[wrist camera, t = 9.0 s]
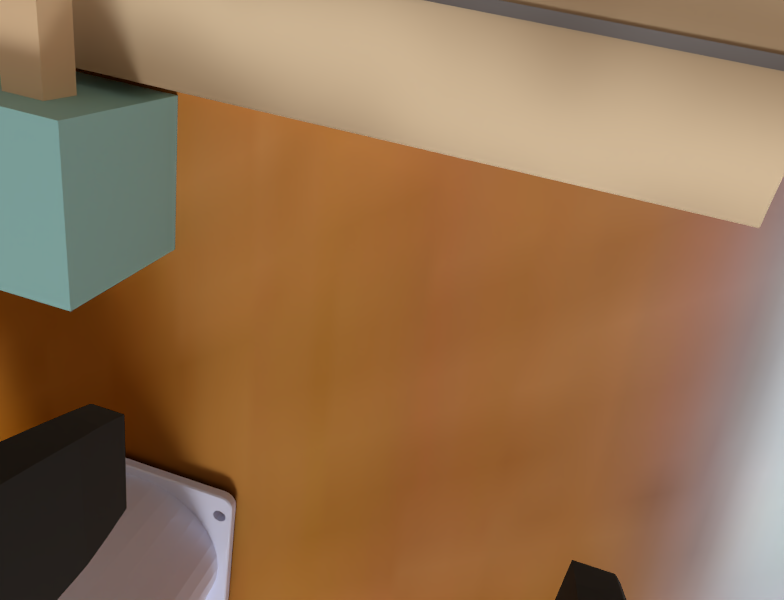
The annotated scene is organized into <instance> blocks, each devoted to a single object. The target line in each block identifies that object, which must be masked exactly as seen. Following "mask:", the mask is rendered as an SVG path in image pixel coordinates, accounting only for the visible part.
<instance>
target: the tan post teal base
mask: <svg viewBox="0 0 784 600" xmlns="http://www.w3.org/2000/svg"><path fill="white" fill-rule="evenodd" d="M177 109H178V95H174V94H169V93H165V92H161V91H157V90H153V89H148V88H144V87H140V86H136V85H131V84H127V83H123V82H119V81H115V80H110V79H106V78H102V77H98V76H93V75H89V74H85V73H81V72H77V71H76V70H75V50H74V31H73V12H72V0H0V290H2V291H5V292H8V293H11V294H15V295H18V296H21V297H25V298H28V299H31V300H34V301H38V302H41V303H44V304H48V305H51V306H54V307H57V308H61V309H64V310H67V311H72V310H74V309H76V308H77V307H79V306H81V305H82V304H84V303H86V302H87V301H89V300H91V299H92V298H94V297H96V296H97V295H99V294H101V293H102V292H104V291H106V290H107V289H109V288H111V287H112V286H114V285H116V284H117V283H119V282H121V281H123V280H124V279H126V278H128V277H129V276H131V275H133V274H134V273H136V272H138V271H139V270H141V269H143V268H144V267H146V266H148V265H149V264H151V263H153V262H154V261H156V260H158V259H159V258H161V257H163V256H164V255H166V254H168V253H169V252H171V251H173V250H174V249H175V217H176V163H177Z"/></svg>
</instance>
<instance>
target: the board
mask: <svg viewBox="0 0 784 600" xmlns="http://www.w3.org/2000/svg"><path fill="white" fill-rule="evenodd" d="M72 12H73V31H74V50H75V68H78V69H83V70H87V71H91V72H95V73H100V74H104V75H108V76H113V77H117V78H121V79H125V80H130V81H134V82H138V83H142V84H147V85H151V86H155V87H159V88H164V89H168V90H172V91H177V92H181V93H185V94H189V95H194V96H198V97H202V98H206V99H211V100H215V101H219V102H223V103H228V104H232V105H236V106H240V107H245V108H249V109H253V110H258V111H262V112H266V113H270V114H275V115H279V116H283V117H287V118H292V119H296V120H300V121H304V122H309V123H313V124H317V125H322V126H326V127H330V128H334V129H339V130H343V131H347V132H351V133H356V134H360V135H364V136H368V137H373V138H377V139H381V140H386V141H390V142H394V143H398V144H403V145H407V146H411V147H415V148H420V149H424V150H428V151H432V152H437V153H441V154H445V155H449V156H454V157H458V158H462V159H467V160H471V161H475V162H479V163H484V164H488V165H492V166H496V167H501V168H505V169H509V170H513V171H518V172H522V173H526V174H531V175H535V176H539V177H543V178H548V179H552V180H556V181H560V182H565V183H569V184H573V185H577V186H582V187H586V188H590V189H595V190H599V191H603V192H607V193H612V194H616V195H620V196H624V197H629V198H633V199H637V200H641V201H646V202H650V203H654V204H658V205H663V206H667V207H671V208H676V209H680V210H684V211H688V212H693V213H697V214H701V215H705V216H710V217H714V218H718V219H722V220H727V221H731V222H735V223H740V224H744V225H748V226H752V227H757V228H760V225H761V223H762V221H763V219H764V217H765V215H766V212H767V210H768V208H769V206H770V204H771V202H772V199H773V197H774V195H775V193H776V191H777V189H778V186H779V184H780V182H781V180H782V178H783V176H784V0H72Z"/></svg>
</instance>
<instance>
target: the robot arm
mask: <svg viewBox="0 0 784 600" xmlns="http://www.w3.org/2000/svg"><path fill="white" fill-rule="evenodd" d="M235 510H236V502H235V499H234V498H233V496H232V495H231V494H230V493H228V492H226V491H223V490H220V489H217V488H214V487H211V486H208V485H205V484H202V483H199V482H196V481H193V480H190V479H187V478H184V477H181V476H178V475H175V474H172V473H169V472H166V471H164V470H161V469H158V468H155V467H152V466H149V465H146V464H143V463H140V462H137V461H134V460H131V459H128V458H125V422H124V414H121V413H118V412H115V411H112V410H109V409H106V408H103V407H99V406H96V405H93V404H89V405H86V406H84V407H81V408H79V409H76V410H74V411H71V412H69V413H66V414H64V415H61V416H59V417H57V418H54V419H52V420H50V421H47V422H45V423H43V424H40V425H38V426H36V427H33V428H31V429H29V430H26V431H24V432H22V433H19V434H17V435H15V436H13V437H10V438H8V439H6V440H3V441H1V442H0V600H228V597H229V584H230V572H231V559H232V547H233V534H234V522H235ZM221 512H222V513H221ZM555 600H626V598H625V595H624V592H623V589H622V587H621V584H620V582H619V580H618V578H617V576H616V575H615V574H613V573H610V572H607V571H604V570H601V569H598V568H595V567H592V566H589V565H586V564H583V563H579V562H576V561H573V560H572V562H571V564H570V566H569V569H568V571H567V573H566V576H565V578H564V580H563V583H562V585H561V587H560V590H559V592H558V594H557V597H556V599H555Z"/></svg>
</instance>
